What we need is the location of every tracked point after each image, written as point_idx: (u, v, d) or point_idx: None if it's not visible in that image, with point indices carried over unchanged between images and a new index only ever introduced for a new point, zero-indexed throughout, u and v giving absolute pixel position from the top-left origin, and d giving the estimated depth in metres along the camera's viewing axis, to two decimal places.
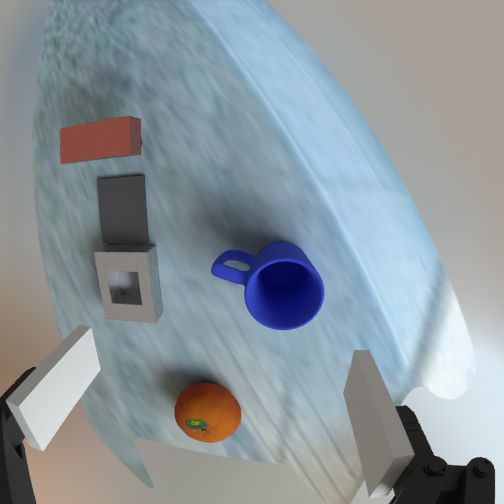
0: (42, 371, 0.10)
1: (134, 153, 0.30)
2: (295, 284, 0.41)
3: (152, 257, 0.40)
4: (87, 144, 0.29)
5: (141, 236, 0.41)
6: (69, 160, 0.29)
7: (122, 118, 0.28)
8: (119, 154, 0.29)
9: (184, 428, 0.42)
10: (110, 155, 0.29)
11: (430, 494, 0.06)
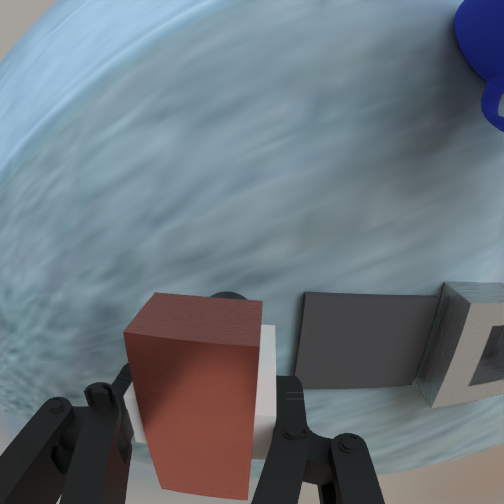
0: None
1: (257, 325, 0.10)
2: None
3: (470, 291, 0.16)
4: (206, 451, 0.10)
5: (425, 311, 0.18)
6: (243, 487, 0.11)
7: (132, 354, 0.09)
8: (253, 379, 0.09)
9: None
10: (251, 404, 0.09)
11: (297, 458, 0.08)
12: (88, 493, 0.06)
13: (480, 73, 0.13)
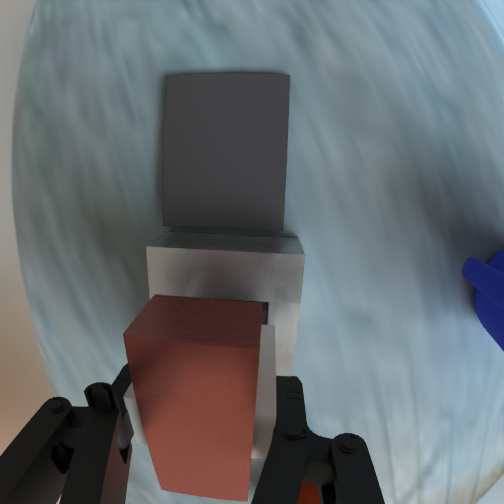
0: None
1: (257, 327, 0.10)
2: None
3: None
4: (206, 452, 0.10)
5: (268, 214, 0.18)
6: (242, 488, 0.11)
7: (131, 356, 0.09)
8: (253, 381, 0.09)
9: None
10: (251, 406, 0.09)
11: (297, 458, 0.08)
12: (88, 493, 0.06)
13: None
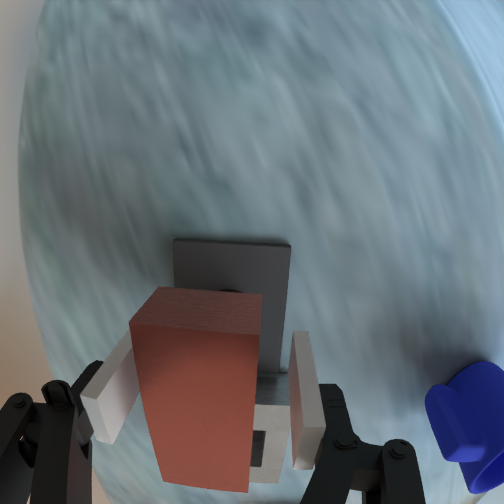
0: (113, 363, 0.12)
1: (257, 315, 0.10)
2: None
3: None
4: (207, 442, 0.10)
5: (267, 362, 0.21)
6: (243, 479, 0.11)
7: (136, 344, 0.09)
8: (253, 367, 0.09)
9: None
10: (251, 393, 0.10)
11: (346, 468, 0.07)
12: (54, 487, 0.05)
13: (453, 382, 0.20)
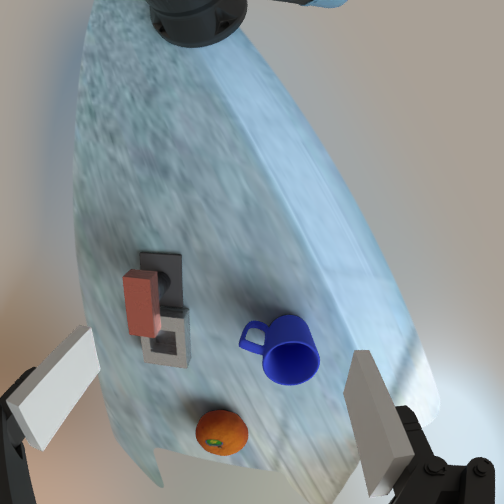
0: (42, 371, 0.10)
1: (152, 276, 0.41)
2: (297, 345, 0.51)
3: (186, 320, 0.51)
4: (141, 312, 0.41)
5: (177, 302, 0.51)
6: (152, 330, 0.42)
7: (124, 282, 0.40)
8: (149, 287, 0.40)
9: (203, 445, 0.52)
10: (150, 295, 0.40)
11: (430, 494, 0.06)
12: None
13: None
